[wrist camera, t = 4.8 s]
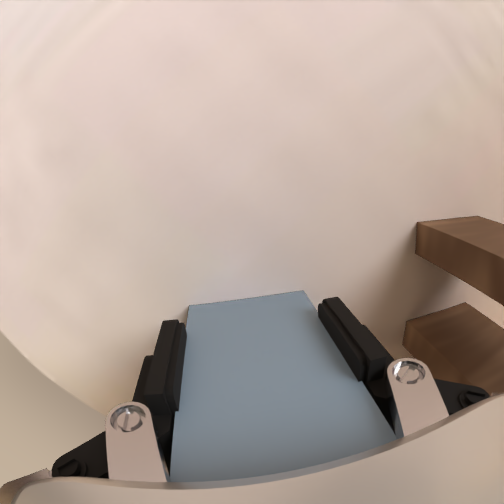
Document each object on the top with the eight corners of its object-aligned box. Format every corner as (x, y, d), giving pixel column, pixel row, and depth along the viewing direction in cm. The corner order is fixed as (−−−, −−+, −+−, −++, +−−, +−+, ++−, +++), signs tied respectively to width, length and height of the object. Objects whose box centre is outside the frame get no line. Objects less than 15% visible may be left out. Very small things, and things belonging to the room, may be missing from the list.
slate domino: (189, 305, 12) (167, 545, 3) (303, 290, 13) (428, 490, 3) (195, 336, 13) (189, 559, 3) (303, 321, 13) (405, 515, 4)
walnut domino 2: (406, 321, 14) (525, 442, 5) (465, 302, 15) (574, 386, 5) (402, 344, 15) (506, 465, 5) (460, 323, 15) (560, 411, 6)
